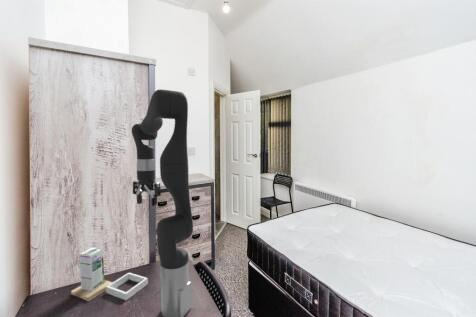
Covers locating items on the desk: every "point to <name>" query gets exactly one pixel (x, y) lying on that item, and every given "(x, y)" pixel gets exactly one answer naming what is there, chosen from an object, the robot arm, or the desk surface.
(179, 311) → the robot arm
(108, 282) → the oak board
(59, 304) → the desk surface
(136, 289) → the white square frame
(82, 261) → the syrup box
